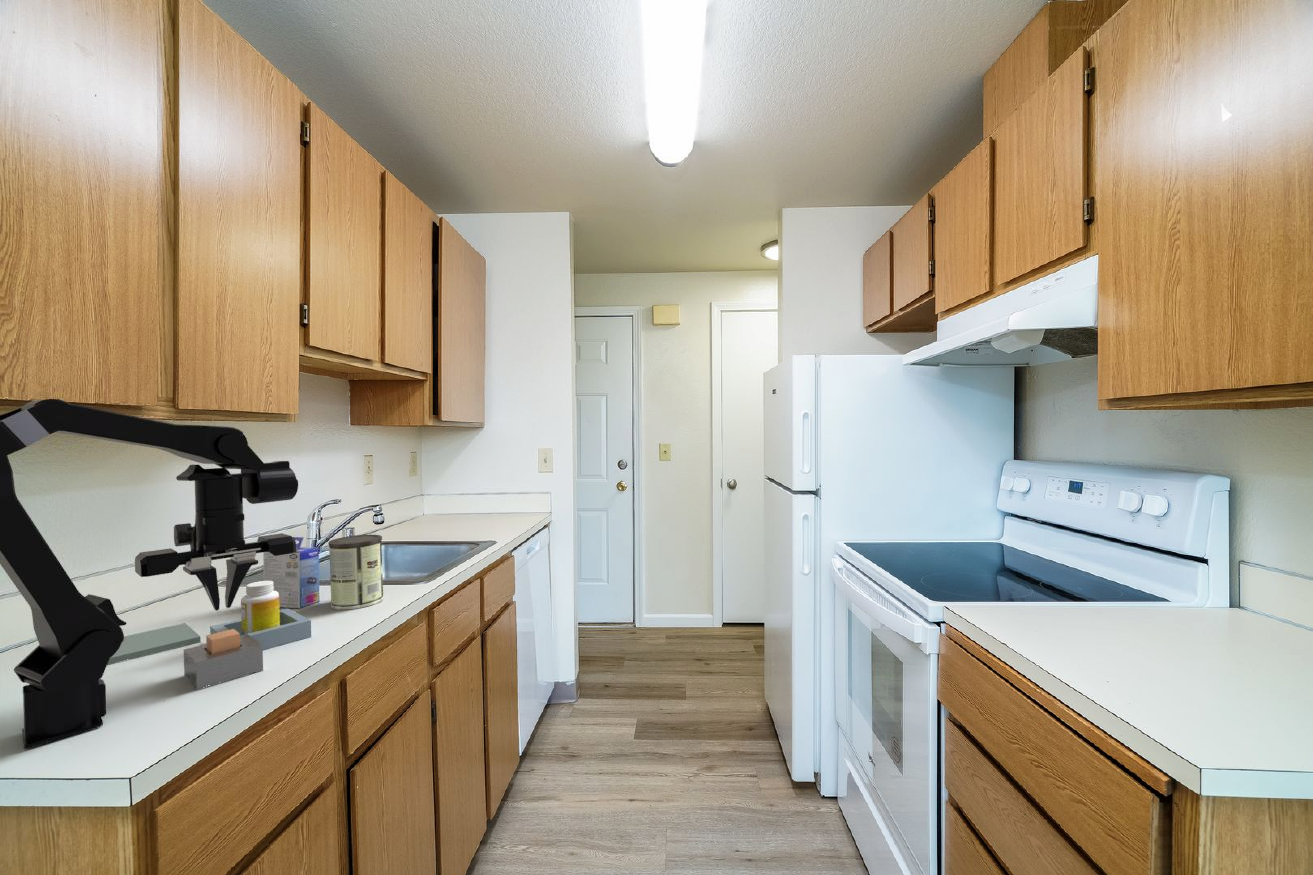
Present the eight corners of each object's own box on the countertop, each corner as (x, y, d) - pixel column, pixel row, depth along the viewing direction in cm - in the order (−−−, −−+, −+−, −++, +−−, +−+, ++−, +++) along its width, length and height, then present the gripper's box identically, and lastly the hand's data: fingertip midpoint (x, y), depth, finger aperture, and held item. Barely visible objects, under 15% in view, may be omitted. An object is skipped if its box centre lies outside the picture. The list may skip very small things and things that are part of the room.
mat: (105, 665, 87) (105, 659, 87) (96, 648, 95) (96, 642, 95) (200, 641, 97) (200, 636, 96) (185, 628, 104) (185, 622, 104)
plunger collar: (196, 690, 78) (196, 662, 78) (184, 675, 83) (183, 649, 83) (263, 670, 84) (262, 644, 84) (247, 657, 89) (247, 633, 89)
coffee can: (345, 596, 123) (343, 535, 123) (391, 594, 124) (389, 533, 124) (319, 611, 113) (318, 544, 113) (370, 609, 113) (368, 542, 113)
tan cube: (212, 660, 81) (211, 640, 81) (206, 654, 83) (206, 635, 83) (240, 652, 83) (239, 633, 83) (233, 647, 86) (233, 628, 86)
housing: (229, 659, 89) (228, 640, 88) (210, 642, 96) (210, 625, 96) (311, 636, 98) (310, 620, 98) (288, 623, 105) (287, 608, 105)
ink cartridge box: (321, 601, 120) (320, 536, 120) (300, 609, 114) (299, 541, 114) (284, 599, 122) (283, 535, 122) (262, 607, 116) (260, 540, 116)
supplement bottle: (287, 634, 99) (286, 579, 99) (263, 646, 94) (261, 587, 94) (259, 633, 100) (258, 579, 100) (233, 645, 94) (232, 587, 94)
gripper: (273, 498, 95) (276, 586, 95) (127, 511, 81) (130, 615, 81) (296, 502, 88) (298, 596, 89) (140, 517, 74) (143, 630, 74)
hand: (222, 608), depth 83 cm, fingers closed
